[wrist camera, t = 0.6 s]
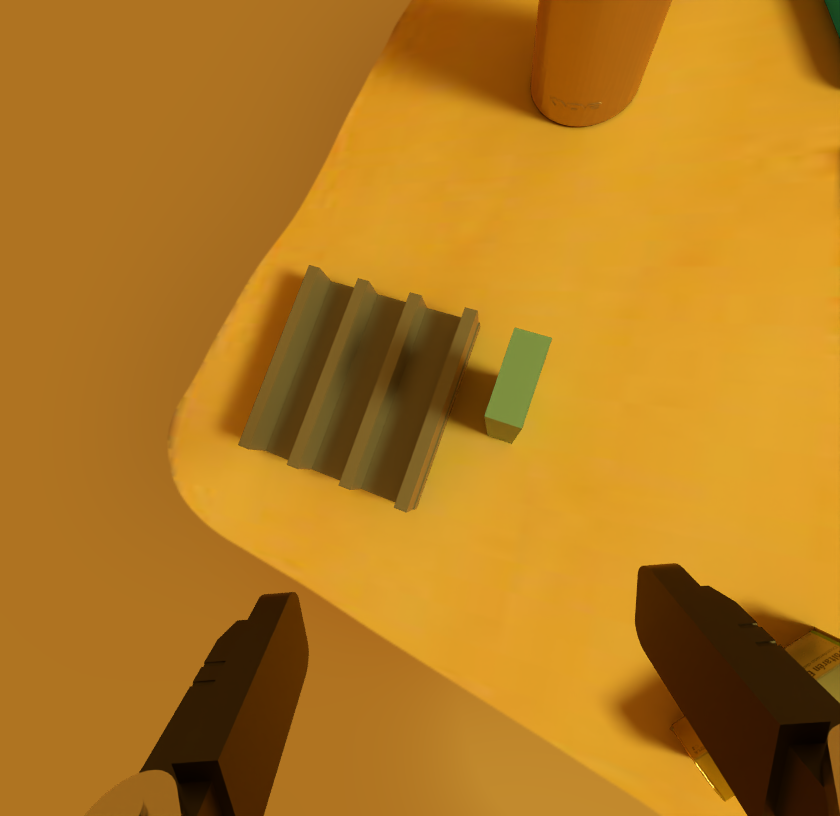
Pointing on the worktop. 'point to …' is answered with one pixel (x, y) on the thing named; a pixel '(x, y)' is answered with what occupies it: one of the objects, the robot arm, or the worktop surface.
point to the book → (834, 13)
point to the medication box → (817, 653)
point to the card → (516, 384)
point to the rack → (362, 387)
